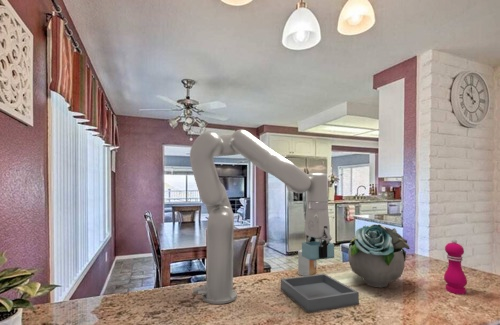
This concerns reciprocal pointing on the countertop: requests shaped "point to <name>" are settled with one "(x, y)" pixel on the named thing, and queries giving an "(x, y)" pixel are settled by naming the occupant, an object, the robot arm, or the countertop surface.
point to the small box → (305, 265)
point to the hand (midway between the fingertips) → (317, 254)
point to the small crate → (316, 250)
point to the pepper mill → (455, 269)
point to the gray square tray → (319, 292)
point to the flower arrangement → (377, 255)
